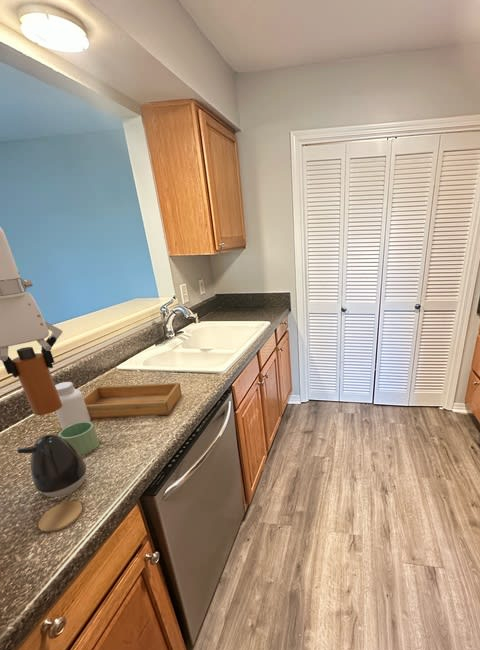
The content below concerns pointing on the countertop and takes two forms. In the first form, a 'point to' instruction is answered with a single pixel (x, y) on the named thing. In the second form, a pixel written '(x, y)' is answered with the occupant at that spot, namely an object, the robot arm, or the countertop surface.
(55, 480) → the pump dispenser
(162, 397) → the tray
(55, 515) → the coaster
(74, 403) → the pill bottle
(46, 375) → the bottle
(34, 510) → the countertop surface
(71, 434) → the cup
